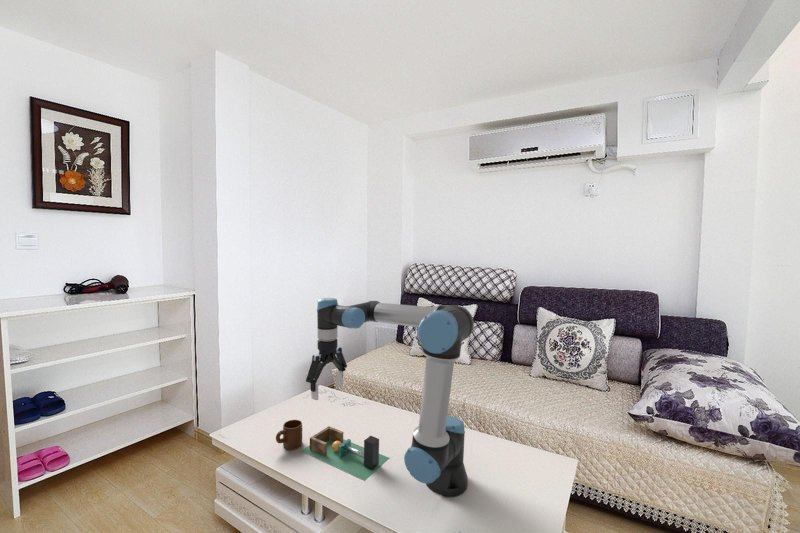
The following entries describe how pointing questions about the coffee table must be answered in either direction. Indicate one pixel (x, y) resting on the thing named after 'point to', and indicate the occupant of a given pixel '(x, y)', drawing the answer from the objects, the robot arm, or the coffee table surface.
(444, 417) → the robot arm
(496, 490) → the coffee table surface
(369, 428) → the coffee table surface
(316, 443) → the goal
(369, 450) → the rod
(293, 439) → the mug
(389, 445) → the coffee table surface
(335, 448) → the ball
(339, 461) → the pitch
